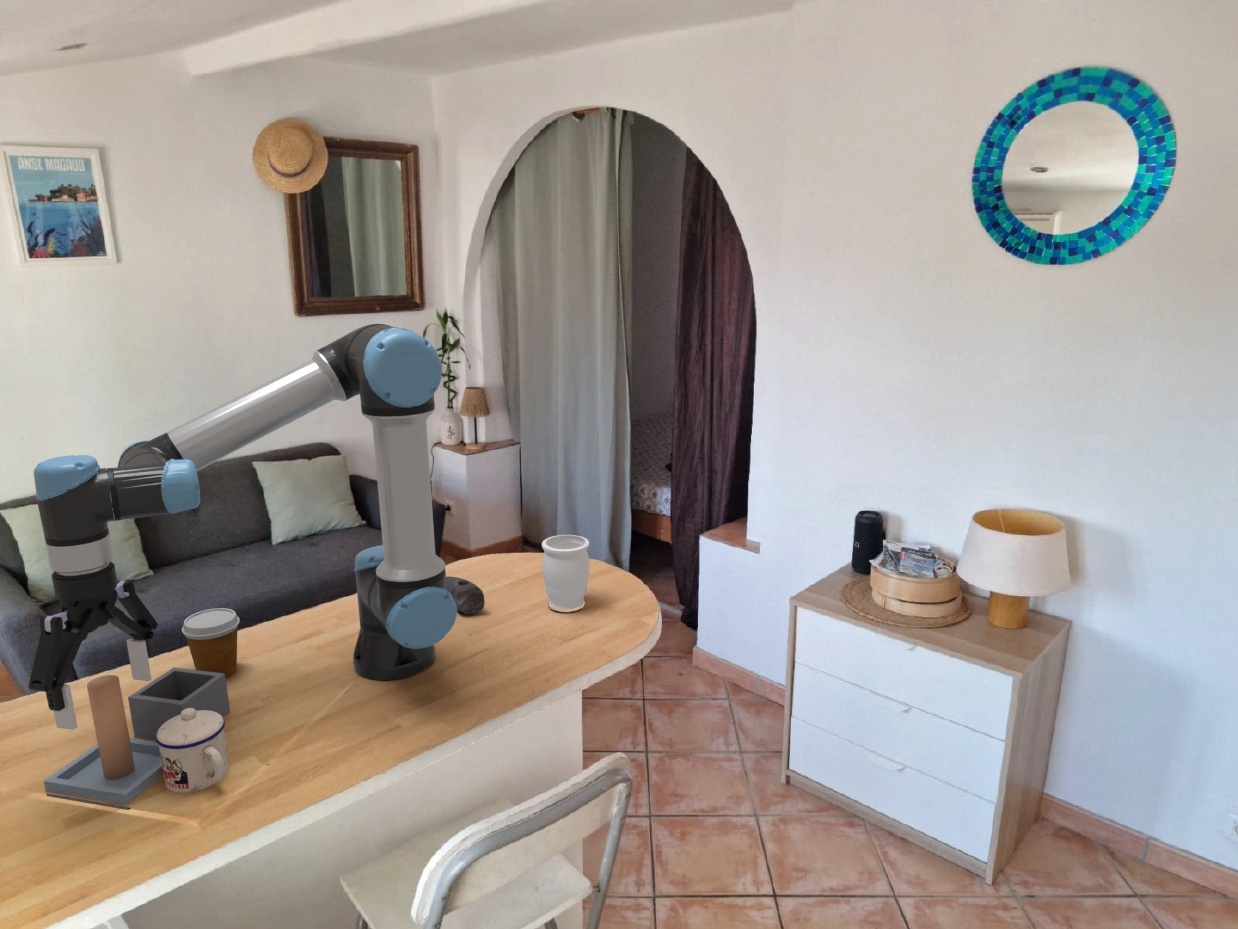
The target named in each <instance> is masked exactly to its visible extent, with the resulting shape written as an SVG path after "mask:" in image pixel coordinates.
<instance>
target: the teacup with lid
mask: <svg viewBox="0 0 1238 929" xmlns="http://www.w3.org/2000/svg"><path fill="white" fill-rule="evenodd" d="M225 725H226V721H225V719H224V716H223V717H222V716H221V715H220V714H219V713H217V712H214V711H210V710H197V711H196V710H195V709H194V708H187V709H184V710H183V711H182V712H181V714H180V715H178V716H175V717H173V718H171V719H170V720H168V721H167V722H165V723H164V724H163V725H162V726H161V727H160V728H159V730H158V732H157V735H156V740H155V742H157V743H158V744H159V750H160V756H161V762H162V768H163V779H164V780H163V781H164V785H165V787H166V788H167V790H169V791H172V792H173V793H174V792H175V793H193V792H197V791H201V790H205V789H207V788H209V787H211V786H213V785H215V784H217V783H218V782H220V781H221V780H222V779H223V778H224V777H226V776H227V774H228V772H229V770H230V763H229V757H228V748H227V742H226V735H225Z"/></svg>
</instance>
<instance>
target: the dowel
mask: <svg viewBox="0 0 1238 929" xmlns="http://www.w3.org/2000/svg"><path fill="white" fill-rule="evenodd" d="M120 683H121V682H120V678H119V676H117V675H116V674H115V675H114V674H108V675H102V676H99V677H96V678H93V679H91V680H90V681H89V682H88V683H87V684H86V688H87V694H88V695H87V696H88V699H89V705H90V710H91V715H92V720H93V725H94V726H93V727H94V731H95V737H96V742H97V744H98V747H99V753H100V758H101V763H102V768H103V774H104V777H105V778H106V779H108V780H115V779H120V778H123V777H125V776H127V775H129V774H130V773H132V772H133V770H134V768H135V766H134V760H133V755H132V749H131V744H130V738H131V737H130V732H129V728H128V727H129V726H128V721H127V716H126V712H125V705H124V700H123V694H122V689H121V684H120Z"/></svg>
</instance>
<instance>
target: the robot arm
mask: <svg viewBox="0 0 1238 929" xmlns="http://www.w3.org/2000/svg"><path fill="white" fill-rule="evenodd" d="M442 374H443V368H442V362H441V359H440V356H439V354H438V351H437V350H436V348H435V347H434V346H433V345H432V343H431V342H430V341H428V339H426V338H425V337H423V336H422V335H421V334H419V333H417V332H415V331H414V330H411V329H407V328H404V327H398V326H392V325H390V324H389V325H388V324H384V323H383V324H382V323H370V324H366V325H364V326H361V327H359V328H356V329H354V330H352V331H351V332H349V333H347V334H345V335H343V336H342V337H339V338H338V339H336V340H334V341H332V342H330V343H329V344H326V345H325V346H323V347H320V348H319V349H317V350H315V351H314V352H313V355H312V358H311V359H310V360H309V361H307V362H305V363H303V364H301V365H299V366H296V367H295V368H293V369H290V370H288V371H287V372H285V373H283V374H281V375H278V376H276V377H274V378H272V379H271V380H268V381H267V382H265V383H262V384H260V385H258V386H257V387H254V388H253V389H250V390H248V391H247V392H244V393H242V394H240V395H239V396H236V397H234V398H232V399H231V400H228V401H226V402H224V403H222V404H220V405H218V406H216V407H214V408H212V409H211V410H208V411H207V412H204V413H202V414H200V415H199V416H197V417H194V418H192V419H190V420H188V421H186V422H184V423H183V424H181V425H179V426H176V427H174V428H172V429H171V430H168V431H167V432H165V433H163V434H161V435H158V436H156V437H154V438H153V439H152V438H151V439H150V440H139V441H136V442H135V441H134V442H133V443H131V444H129V445H128V446H126V447H125V448H124V450H123V451H122V452H121V453H120V456H119V460H118V462H117V467H108V468H107V467H104V468H103V467H101V466H100V465H99V463H98V460H97V458H96V457H94V456H92V455H87V454H79V455H74V454H72V455H71V454H70V455H63V456H62V455H61V456H57V457H56V456H55V457H52V458H49V459H45V460H43V461H41V462H40V463H38V464H37V465H36V466H35V467H34V469H33V477H34V478H33V479H34V485H35V486H34V488H35V493H36V494H35V495H36V502H37V506H38V511H39V517H40V522H41V528H42V531H43V536H44V537H43V538H44V541H45V546H46V554H47V557H48V564H49V568H50V570H51V571H53V573H52V574H51V581H52V586H53V591H54V596H55V597H56V599H57V600H58V601H59V603H60V609H59V610H60V611H59V613H56V614H52V615H45V614H43V615H42V616H41V617H40V619H39V625H40V626H39V627H40V629H39V630H40V635H39V640H38V645H37V649H36V652H35V656H34V662H33V664H32V665H33V666H32V670H31V675H30V677H29V678H30V679H29V683H28V689H29V690H30V691H36V692H43V693H45V696H46V700H47V705H48V709H49V710H50V711H53V716H54V721H55V725H56V728H57V729H64V730H70V731H71V730H72V731H74V730H75V729H77V728H78V722H77V717H76V712H75V711H76V710H75V705H74V699H73V696H72V695H73V694H72V690H71V685H70V684H65V683H66V680H67V678H68V675H69V673H70V671H71V668H72V665H73V663H74V662H75V659H76V657H77V654H78V652H79V649H80V646H81V644H82V642H84V641H86V639H87V637H88V636H89V633H92V632H94V631H96V630H97V629H98V628H99V627H102V626H105V625H107V624H109V623H110V624H112V625H113V626H115V627H116V628H118V629H119V630H121V631H122V632H124V633H125V634H127V635H128V636H130V637H131V638H129V639H127V640H126V646H127V654H128V658H129V665H130V671H131V676H132V680H134V681H136V680H137V681H143V682H149V681H150V680H152V674H151V667H150V661H149V657H150V653H151V651H150V650H151V649H150V644H149V640H152V639H153V638H154V635H155V633H154V632H153V630H157V628H158V622H157V621H156V619H155V618H154V616H153V615H152V614H151V612H150V611H149V610H148V608H147V607H146V605H145V604H144V602H143V601H142V600H141V598H140V597H139V595H138V594H137V592H136V588H135V584H134V582H132V581H126V580H119V579H118V578H117V571H116V565H115V563H114V562H113V560H114V553H113V547H112V543H111V542H112V541H111V536H110V530H109V524H108V523H110V522H117V521H118V522H119V521H125V520H132V519H138V518H139V519H140V518H145V517H153V516H160V515H167V514H173V515H174V514H177V513H180V512H184V511H189V510H193V509H196V508H198V507H199V505H200V503H201V491H200V490H201V489H200V484H199V477H198V473H197V472H198V471H200V470H202V469H204V468H206V467H208V466H209V465H211V464H214V463H216V462H217V461H219V460H222V459H223V458H226V457H227V456H229V455H231V454H233V453H234V452H237V451H238V450H241V449H242V448H244V447H246V446H248V445H250V444H251V443H254V442H256V441H258V440H260V439H262V438H264V437H266V436H268V435H270V434H271V433H273V432H275V431H278V430H279V429H281V428H283V427H285V426H286V425H289V424H290V423H292V422H294V421H296V420H298V419H300V418H303V417H305V416H306V415H309V414H310V413H312V412H315V411H316V410H317V409H319V408H322V407H323V406H325V405H327V404H329V403H331V402H333V401H341V402H347V401H348V400H350V399H351V398H354V397H356V396H359V397H360V398H359V399H360V400H359V401H360V410H361V415H362V416H363V417H364V418H366V419H367V420H368V421H370V422H371V425H372V433H373V434H372V436H373V447H374V457H375V458H374V459H375V460H374V461H375V470H376V480H377V492H378V502H379V503H378V504H379V505H378V506H379V517H380V526H381V527H380V528H381V537H382V538H381V539H382V545H381V544H380V545H376V546H372V547H368V548H366V549H363V550H362V551H359V553H358V554H356V556H355V558H354V570H353V571H354V572H355V583H356V593H357V594H356V595H357V604H358V606H357V607H358V616H359V627H360V628H359V631H358V635H357V638H356V643H355V647H354V650H353V656H352V659H353V668H354V670H355V672H356V673H357V674H358V675H359V676H361V677H364V678H366V679H370V680H376V681H392V680H400V679H404V678H409V677H411V676H415V675H417V674H419V673H422V672H423V671H425V670H427V669H429V667H431V666H432V664H433V663H434V661H435V659H436V651H435V649H436V648H435V645H437V643H439V642H440V641H442V640H443V639H444V638H445V637H446V635H447V634H448V633H450V631H451V630H452V628H453V626H454V625H455V623H456V619H457V615H458V614H457V613H458V611H457V607H456V603H455V601H454V598H453V596H452V594H451V593H450V592H449V591H447V585H446V577H447V572H446V562H445V560H443V559H442V558H440V556H438V555H437V554H436V546H435V545H436V541H435V533H434V532H435V529H434V528H435V526H434V517H433V516H434V514H433V512H434V511H433V502H432V497H433V496H432V487H431V472H430V471H431V470H430V457H429V445H428V444H429V440H428V425H427V420H428V419H429V418H430V417H431V415H432V414H433V413H434V412H435V410H436V408H435V407H436V406H435V394H436V392H437V390H438V389H439V387H440V384H441V380H442ZM117 600H118V601H119V603H120V604H121V605H122V606H123V608H124V609H125V611H126V612H127V613H128V615H129V616H128V615H126V613H125V611H123V610H121V608H119V607H117V606H116V602H117ZM130 617H131V618H130ZM72 630H74V631H76V632H72Z"/></svg>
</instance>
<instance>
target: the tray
mask: <svg viewBox="0 0 1238 929" xmlns="http://www.w3.org/2000/svg"><path fill="white" fill-rule="evenodd" d="M129 738H130V744H131V749H132V755H133V760H134V766H135V768H134V770H133V772H132V773H130V774H129V775H127V776H125V777H123V778H120V779H115V780H108V779H106V778H105V777H104V774H103V768H102V763H101V758H100V753H99V747H98V743H96V744H95V745H94V746H92V747H90V748H89V749H88V750H87V751H85V752H83V753H82V754H81V755H79V756H78V757H76V758H75V759H74V760H72V761H71V762H69V763H68V764H66V765H65V766H63V767H61V769H59V770H57V771H56V772H55V773H53V774H52V775H50V776H49V777H48V778H46V779H45V780H43V785H44V789H45V791H47V792H46V793H45V794H46V797H51V798H55V799H62V800H68V801H73V802H79V803H85V804H91V805H97V806H102V807H108V808H114V809H120V810H125V811H126V810H127V811H129V810H130V809H131V807H129V806H122V805H118V804H124V805H129V804H130V803H131V802H132V801H133V800H134V799H136V798H137V797H138V796H139V795H140V794H142V793H143V792H145V791H146V790H147V789H148V788H149V787H151V786H152V785H153V784H154V783H156V782H157V781H158V780H160V779H161V778H162V777H164V775H163V768H162V762H161V756H160V750H159V744H158V743H157V742H156V741H154V740H153V741H152V740H145V739H139V738H138V739H137V738H132V737H129ZM48 792H52V793H53V792H54V793H58V794H52V793H48ZM60 794H65V795H66V796H64V795H60ZM67 795H69V796H67ZM70 795H71V796H75V797H81V798H75V797H71V796H70ZM82 798H87V799H82ZM88 799H92V800H88ZM94 799H95V800H100V801H101V802H100V801H94ZM102 801H107V802H112V803H117V804H111V803H106V802H102Z"/></svg>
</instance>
